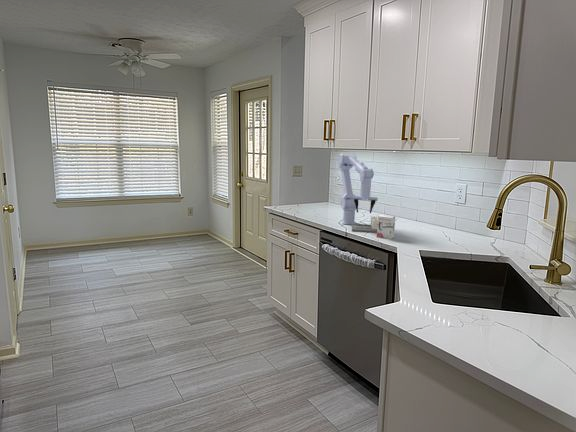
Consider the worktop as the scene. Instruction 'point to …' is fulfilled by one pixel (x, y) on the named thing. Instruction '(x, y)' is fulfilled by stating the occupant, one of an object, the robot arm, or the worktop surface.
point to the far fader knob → (373, 218)
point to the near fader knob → (374, 224)
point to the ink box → (386, 226)
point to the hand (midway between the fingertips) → (363, 212)
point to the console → (363, 228)
